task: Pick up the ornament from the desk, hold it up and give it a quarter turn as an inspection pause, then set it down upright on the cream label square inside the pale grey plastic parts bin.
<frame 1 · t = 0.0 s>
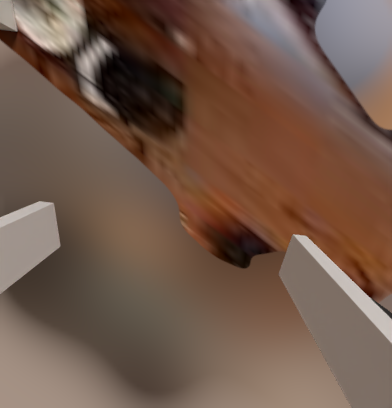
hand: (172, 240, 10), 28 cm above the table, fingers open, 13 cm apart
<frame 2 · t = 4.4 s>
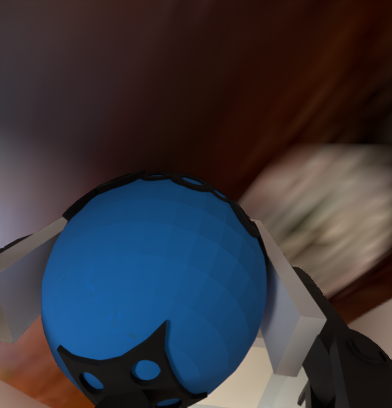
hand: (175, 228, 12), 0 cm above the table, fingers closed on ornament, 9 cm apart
ornament: (176, 224, 12), on the table, touching gripper
bin: (216, 367, 17), on the table
when the fingers open (4 cm above the table, at t = 10.5 s): ornament drops 2 cm, resting on bin.
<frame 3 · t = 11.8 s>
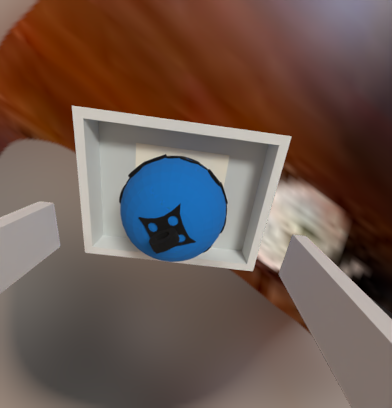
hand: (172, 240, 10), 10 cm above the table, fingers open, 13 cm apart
ornament: (179, 193, 19), point 1 cm above the table, touching bin
bin: (179, 192, 20), on the table
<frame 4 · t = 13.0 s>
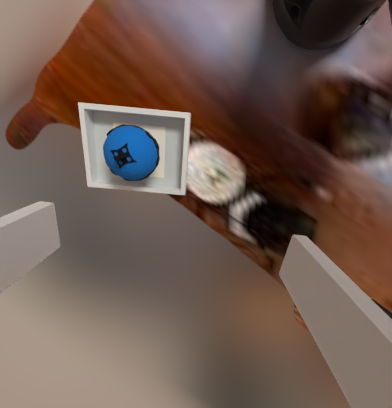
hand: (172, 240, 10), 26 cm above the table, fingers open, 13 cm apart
ornament: (140, 151, 34), point 1 cm above the table, touching bin
bin: (140, 151, 34), on the table
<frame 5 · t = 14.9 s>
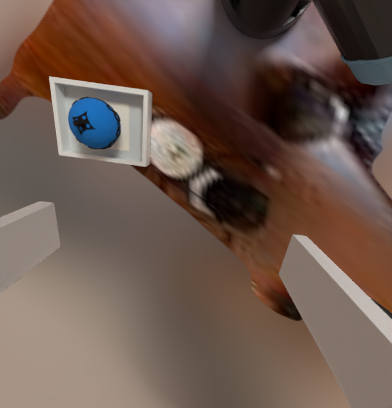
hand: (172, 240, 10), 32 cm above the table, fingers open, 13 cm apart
ornament: (107, 125, 38), point 1 cm above the table, touching bin
bin: (108, 125, 38), on the table
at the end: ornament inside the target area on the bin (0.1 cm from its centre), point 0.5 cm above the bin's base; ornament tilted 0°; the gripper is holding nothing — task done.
